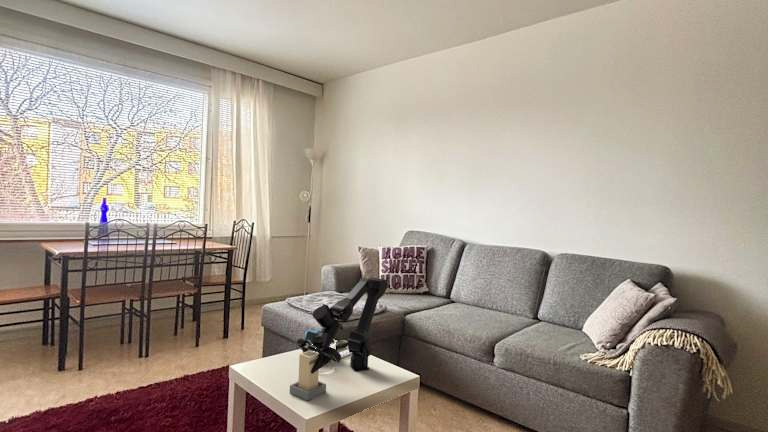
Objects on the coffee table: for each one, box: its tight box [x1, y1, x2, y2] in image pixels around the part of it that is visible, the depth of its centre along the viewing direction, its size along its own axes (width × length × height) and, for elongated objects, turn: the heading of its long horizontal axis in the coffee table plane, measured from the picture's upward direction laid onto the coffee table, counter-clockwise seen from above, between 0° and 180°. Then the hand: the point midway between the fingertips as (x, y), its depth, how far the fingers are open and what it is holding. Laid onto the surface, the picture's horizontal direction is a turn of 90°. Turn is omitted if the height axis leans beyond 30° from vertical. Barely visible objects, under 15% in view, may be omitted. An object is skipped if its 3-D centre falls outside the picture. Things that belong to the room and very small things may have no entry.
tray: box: [289, 380, 327, 402], centre depth 156 cm, size 9×9×3 cm
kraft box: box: [297, 350, 320, 392], centre depth 155 cm, size 5×5×13 cm
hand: (306, 371), depth 154 cm, fingers closed on kraft box, 5 cm apart
